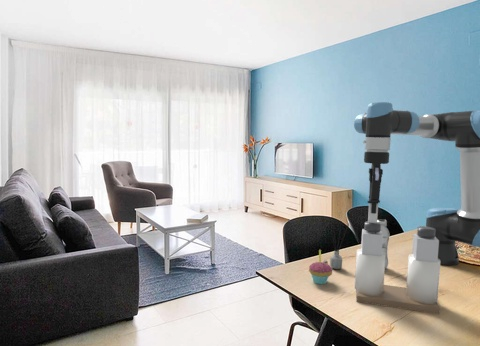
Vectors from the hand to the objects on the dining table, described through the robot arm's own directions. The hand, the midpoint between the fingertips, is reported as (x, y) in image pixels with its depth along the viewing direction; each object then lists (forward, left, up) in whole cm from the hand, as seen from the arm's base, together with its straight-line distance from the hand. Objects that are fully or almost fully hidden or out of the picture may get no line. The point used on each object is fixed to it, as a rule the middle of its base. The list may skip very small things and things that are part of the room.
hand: (372, 222), depth 111 cm
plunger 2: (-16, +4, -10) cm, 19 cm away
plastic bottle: (-13, -25, -26) cm, 38 cm away
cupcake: (+14, -10, -26) cm, 31 cm away
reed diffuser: (+6, -23, -26) cm, 35 cm away
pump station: (-8, +2, -25) cm, 27 cm away
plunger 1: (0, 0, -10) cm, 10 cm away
